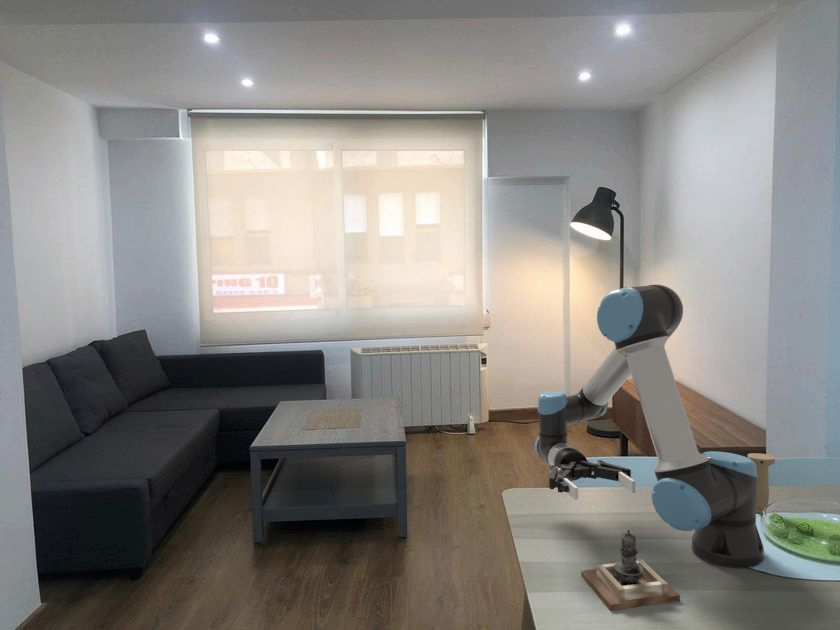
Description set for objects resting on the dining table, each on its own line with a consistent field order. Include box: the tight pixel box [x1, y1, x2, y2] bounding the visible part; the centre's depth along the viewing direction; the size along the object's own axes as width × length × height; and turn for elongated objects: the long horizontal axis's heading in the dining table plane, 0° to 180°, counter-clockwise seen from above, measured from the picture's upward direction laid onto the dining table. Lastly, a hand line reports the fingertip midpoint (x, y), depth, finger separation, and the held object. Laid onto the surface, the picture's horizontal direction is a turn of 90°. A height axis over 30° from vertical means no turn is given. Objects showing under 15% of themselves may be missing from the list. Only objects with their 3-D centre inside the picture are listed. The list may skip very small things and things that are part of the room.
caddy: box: [580, 559, 681, 612], centre depth 140 cm, size 15×14×4 cm
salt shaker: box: [614, 529, 643, 586], centre depth 139 cm, size 6×6×12 cm
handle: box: [747, 452, 776, 514], centre depth 174 cm, size 5×6×15 cm
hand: (605, 490), depth 148 cm, fingers open, 13 cm apart
